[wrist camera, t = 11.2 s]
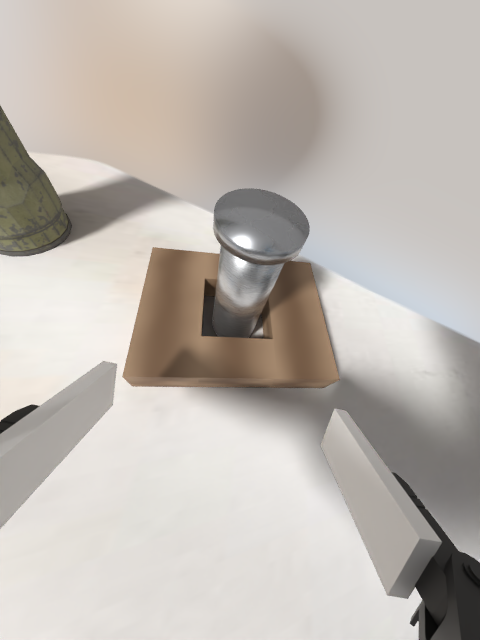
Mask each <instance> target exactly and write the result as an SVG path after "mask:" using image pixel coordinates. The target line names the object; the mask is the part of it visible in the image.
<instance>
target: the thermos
mask: <svg viewBox="0 0 480 640" xmlns="http://www.w3.org/2000/svg"><path fill="white" fill-rule="evenodd" d="M70 230H71V223H70V220H69V218H68V216H67V214H65V212H64V210H63V208H62V204H61V201H60V199H59V197H58V195H57V193H56V191H55V189H54V188H53V186H52V184H51V182H50V180H49V178H48V177H47V175H46V173H45V172H44V171H43V170H42V169H41V168H40V167H39V166H38V165H37V164H36V163H35V162H34V161H33V160H32V159H31V158H30V157H29V155H28V153H27V151H26V150H25V148H24V146H23V144H22V143H21V141H20V139H19V137H18V136H17V134H16V133H15V130H14V129H13V127H12V125H11V124H10V122H9V120H8V118H7V117H6V115H5V113H4V111H3V110H2V108H1V106H0V254H3V255H8V256H29V255H34V254H39V253H43V252H45V251H48V250H50V249H52V248H55V247H56V246H57V245H59V244H60V243H62V242H63V241H64V240H65V239H66V238H67V236H68V235H69V234H70Z"/></svg>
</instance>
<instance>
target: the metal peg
mask: <svg viewBox="0 0 480 640" xmlns="http://www.w3.org/2000/svg"><path fill="white" fill-rule="evenodd" d="M213 230H214V234H215V236H216V238H217V240H218V242H219V243H220V244H221V249H220V258H219V267H218V276H217V285H216V294H215V302H214V311H213V320H212V325H213V329H214V331H215V333H216V334H217V335H218V336H219V337H234V338H249V337H250V335H251V334H252V332H253V330H254V328H255V326H256V324H257V321H258V319H259V317H260V315H261V313H262V311H263V308H264V306H265V304H266V302H267V300H268V298H269V295H270V293H271V291H272V289H273V287H274V285H275V282H276V280H277V278H278V276H279V274H280V272H281V269H282V267H283V265H284V263H286V262H288V261H290V260H292V259H294V258H295V257H296V256H297V255H298V254H299V252H300V251H301V249H302V247H303V245H304V243H305V241H306V239H307V237H308V235H309V223H308V220H307V218H306V216H305V215H304V213H303V212H302V211H301V210H300V208H298V207H297V206H296V205H295V204H294V203H292V202H291V201H290V200H288V199H286V198H284V197H282V196H280V195H278V194H275V193H272V192H269V191H265V190H260V189H239V190H234V191H231V192H228V193H227V194H225V195H224V196H222V197H221V198H220V199H219V200H218V202H217V203H216V205H215V209H214V222H213Z"/></svg>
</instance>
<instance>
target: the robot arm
mask: <svg viewBox="0 0 480 640" xmlns="http://www.w3.org/2000/svg"><path fill="white" fill-rule="evenodd" d="M116 368H117V364H115V363H110V362H105V361H103V362H102V363H100V364H99V365H97V366H96V367H95V368H93V369H92V370H90V371H89V372H87V373H86V374H85V375H83V376H82V377H80V378H79V379H78V380H76V381H75V382H73V383H72V384H70V385H69V386H68V387H66V388H65V389H63V390H62V391H61V392H59V393H58V394H56V395H55V396H53V397H52V398H51V399H49V400H48V401H46V402H45V403H44V404H42V405H41V406H37V405H29V406H27V407H24V408H22V409H19V410H17V411H15V412H13V413H12V414H10V415H8V416H7V417H5V418H4V419H2V420H1V422H0V529H1V528H2V526H3V525H4V524H5V523H6V522H7V521H8V520H9V519H10V518H11V516H12V515H13V514H14V513H15V512H16V511H17V510H18V509H19V508H20V507H21V505H22V504H23V503H24V502H25V501H26V500H27V499H28V498H29V497H30V496H31V494H32V493H33V492H34V491H35V490H36V489H37V488H38V487H39V486H40V485H41V483H42V482H43V481H44V480H45V479H46V478H47V477H48V476H49V475H50V474H51V472H52V471H53V470H54V469H55V468H56V467H57V466H58V465H59V464H60V463H61V461H62V460H63V459H64V458H65V457H66V456H67V455H68V454H69V453H70V451H71V450H72V449H73V448H74V447H75V446H76V445H77V444H78V443H79V442H80V440H81V439H82V438H83V437H84V436H85V435H86V434H87V433H88V432H89V431H90V429H91V428H92V427H93V426H94V425H95V424H96V423H97V422H98V421H99V420H100V418H101V417H102V416H103V415H104V414H105V413H106V412H107V411H108V410H109V409H110V407H111V406H112V405H113V397H114V388H115V378H116ZM321 448H322V450H323V452H324V454H325V457H326V459H327V461H328V463H329V466H330V468H331V470H332V472H333V475H334V477H335V479H336V481H337V484H338V486H339V488H340V490H341V493H342V495H343V497H344V499H345V502H346V504H347V506H348V508H349V511H350V513H351V515H352V517H353V520H354V522H355V524H356V526H357V528H358V531H359V533H360V535H361V537H362V540H363V542H364V544H365V546H366V549H367V551H368V553H369V555H370V558H371V560H372V562H373V564H374V567H375V569H376V571H377V573H378V576H379V578H380V580H381V582H382V585H383V587H384V589H385V591H386V594H387V595H388V596H394V597H401V598H407V599H408V598H409V596H410V594H411V593H412V591H413V590H414V588H415V587H416V589H417V590H418V592H419V594H420V596H421V598H422V602H421V603H420V605H419V607H418V608H417V610H416V611H415V613H414V614H413V616H412V618H411V621H410V624H411V625H412V626H415V624H416V623H417V621H419V640H480V563H479V562H478V561H477V560H475V559H474V558H472V557H470V556H469V555H467V554H465V553H462V552H459V551H458V550H457V548H456V547H455V546H454V544H453V543H452V542H451V540H450V539H449V538H448V536H447V535H446V534H445V533H444V531H443V530H442V529H441V527H440V526H439V525H438V523H437V522H436V521H435V519H434V518H433V517H432V516H431V514H430V513H429V512H428V510H426V509H425V506H424V505H423V504H422V502H421V501H420V500H419V499H417V496H416V495H415V493H414V492H413V491H412V489H411V488H410V487H409V485H408V484H407V483H406V482H405V481H404V480H402V479H401V478H400V477H399V476H398V475H397V474H396V473H392V472H391V471H390V470H389V469H388V467H387V466H386V464H385V463H384V462H383V460H382V459H381V458H380V456H379V455H378V453H377V452H376V451H375V449H374V448H373V447H372V445H371V444H370V442H369V441H368V440H367V438H366V437H365V436H364V434H363V433H362V431H361V430H360V429H359V427H358V426H357V425H356V423H355V422H354V421H353V419H352V418H351V416H350V415H349V414H348V412H347V411H345V410H340V409H335V408H334V411H333V413H332V416H331V419H330V421H329V424H328V427H327V429H326V432H325V435H324V437H323V440H322V443H321Z"/></svg>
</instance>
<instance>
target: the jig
mask: <svg viewBox="0 0 480 640" xmlns="http://www.w3.org/2000/svg"><path fill="white" fill-rule="evenodd" d="M219 258H220V254H214V253H204V252H194V251H184V250H174V249H164V248H154V247H153V249H152V253H151V257H150V262H149V266H148V270H147V274H146V279H145V283H144V287H143V291H142V296H141V300H140V304H139V308H138V313H137V317H136V321H135V325H134V330H133V334H132V338H131V342H130V347H129V351H128V355H127V359H126V364H125V368H124V372H123V376H122V377H123V378H124V379H125V380H126V381H127V382H128V383H129V384H130V385H131V386H154V387H270V388H324V387H326V386H328V385H330V384H332V383H334V382H336V381H338V380H340V379H339V375H338V371H337V367H336V363H335V359H334V355H333V351H332V347H331V344H330V340H329V336H328V332H327V328H326V324H325V320H324V316H323V312H322V308H321V304H320V300H319V296H318V292H317V288H316V284H315V280H314V276H313V272H312V268H311V264H310V263H305V262H295V261H288V262H286V263H284V265H283V267H282V269H281V272H280V274H279V276H278V278H277V280H276V282H275V285H274V287H273V289H272V291H271V293H270V295H269V298H268V300H267V302H266V304H265V306H264V308H263V311H262V313H261V314H262V325H263V336H264V339H258V338H234V337H211V336H202V321H203V305H204V296H215V294H216V285H217V276H218V267H219Z"/></svg>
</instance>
